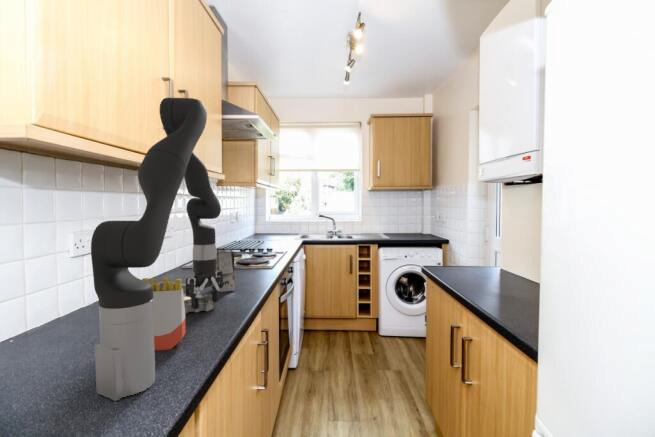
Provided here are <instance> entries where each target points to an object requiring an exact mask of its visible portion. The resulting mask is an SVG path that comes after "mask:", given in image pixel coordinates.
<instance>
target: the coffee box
mask: <svg viewBox="0 0 655 437" xmlns="http://www.w3.org/2000/svg"><path fill="white" fill-rule="evenodd" d="M216 254H217V270H216V271H222V273H223V288H220V290H219V293H222V292H223V293H224V292H231V291H232V292H233V291H235V286H236V285H235V284H236V283H235V282H236V281H235V252H234V250H232V248H231V249H218V250H217V249H216ZM219 284H220V282H219Z"/></svg>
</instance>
